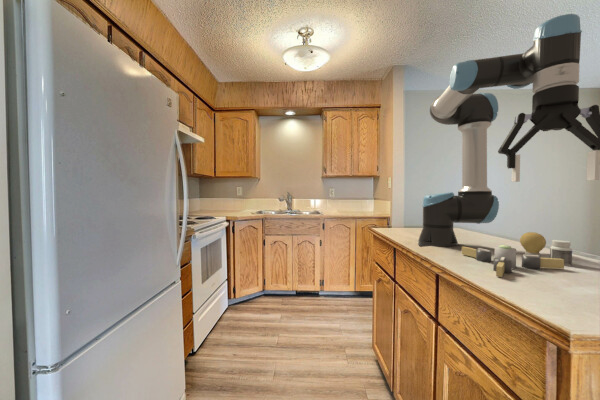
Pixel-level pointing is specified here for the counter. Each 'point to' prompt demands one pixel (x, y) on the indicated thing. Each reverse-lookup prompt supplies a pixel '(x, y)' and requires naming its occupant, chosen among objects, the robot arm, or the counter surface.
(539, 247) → the light bulb
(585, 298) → the counter surface
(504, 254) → the tribrach plate
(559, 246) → the pill bottle
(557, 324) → the counter surface
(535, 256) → the knob
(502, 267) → the knob
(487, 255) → the knob
